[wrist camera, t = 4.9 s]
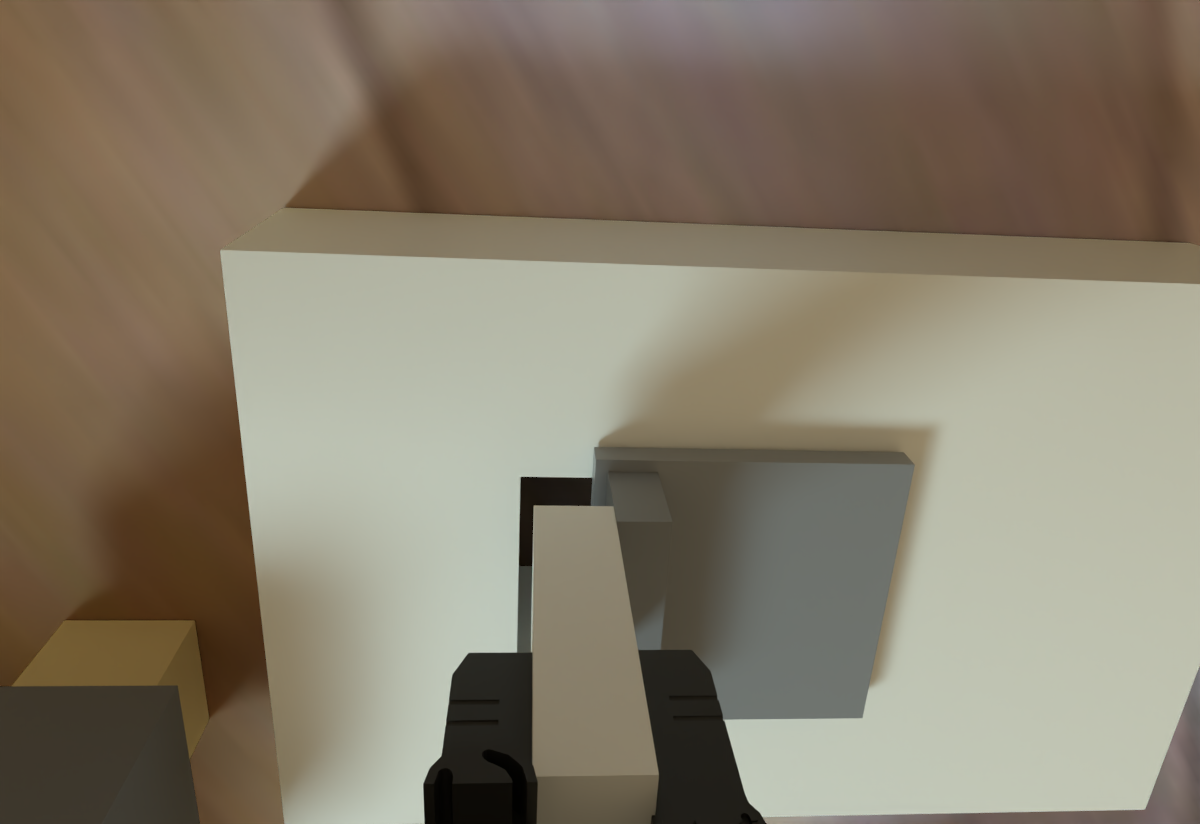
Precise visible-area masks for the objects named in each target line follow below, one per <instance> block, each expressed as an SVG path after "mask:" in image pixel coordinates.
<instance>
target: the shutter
mask: <svg viewBox="0 0 1200 824" xmlns="http://www.w3.org/2000/svg"><path fill="white" fill-rule="evenodd" d="M914 467H915V464H914V463H913V462H912V461H911V460H910V459H909V458H908V457H907V455H906V454H905V453H904V452H865V451H806V450H748V449H689V448H630V447H594V455H593V473H592V492H591V506H614V512H615V517H616V523H617V529H618V535H619V541H620V547H621V553H622V559H623V565H624V571H625V577H626V582H627V588H628V594H629V600H630V606H631V612H632V618H633V624H634V630H635V636H636V642H637V647H638V650H692V651H693V652H694V653H695V654H696V655H697V656H698V657H699V658H700V660H701V661H702V662H703V663H704V664H705V665H706V666H707V667H708V669H709V670H710V671H711V674H712V678H713V681H714V685H715V689H716V692H717V699H718V700H719V703H720V706H721V710H722V714H723V720H734V719H839V718H863V713H864V708H865V703H866V698H867V694H868V689H869V684H870V679H871V674H872V670H873V665H874V660H875V655H876V650H877V645H878V641H879V636H880V631H881V626H882V621H883V616H884V612H885V607H886V602H887V597H888V592H889V587H890V583H891V578H892V573H893V568H894V563H895V559H896V554H897V549H898V544H899V539H900V534H901V530H902V525H903V520H904V515H905V510H906V505H907V501H908V496H909V491H910V486H911V481H912V476H913V472H914Z"/></svg>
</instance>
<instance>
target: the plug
mask: <svg viewBox="0 0 1200 824" xmlns="http://www.w3.org/2000/svg"><path fill="white" fill-rule="evenodd" d="M208 721H209V713H208V706H207V700H206V693H205V686H204V679H203V672H202V665H201V659H200V652H199V645H198V638H197V631H196V625H195V620H65V621H64V622H63V623H62V624H61V625H60V627H59V628H58V629H57V630H56V632H55V633H54V634H53V635H52V637H51V638H50V639H49V640H48V642H47V643H46V644H45V645H44V647H43V648H42V649H41V650H40V651H39V653H38V654H37V655H36V656H35V658H34V659H33V660H32V661H31V663H30V664H29V665H28V666H27V668H26V669H25V670H24V671H23V673H22V674H21V675H20V676H19V678H18V679H17V680H16V681H15V682H14V684H13V685H12V686H0V824H200V821H199V815H198V808H197V802H196V796H195V790H194V783H193V777H192V771H191V765H190V758H191V756H192V754H193V752H194V750H195V748H196V746H197V744H198V742H199V739H200V737H201V735H202V733H203V731H204V729H205V727H206V725H207V723H208Z"/></svg>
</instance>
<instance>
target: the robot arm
mask: <svg viewBox="0 0 1200 824" xmlns="http://www.w3.org/2000/svg"><path fill="white" fill-rule="evenodd" d="M423 794H424V820H425V824H766V823H765V821H764V819H763V817H762V816H761V814H760V812H758V811H757V810H756V809H755V808H754V807H753V806H752V805H751V804H750V803H749V802H748V800H747V797H746V795H745V792H744V789H743V785H742V782H741V778H740V775H739V771H738V767H737V764H736V760H735V757H734V753H733V749H732V746H731V742H730V739H729V735H728V732H727V728H726V724H725V721H723V714H722V710H721V706H720V703H719V700H718V699H717V692H716V689H715V685H714V681H713V678H712V674H711V671H710V670H709V669H708V667H707V666H706V665H705V664H704V663H703V662H702V661H701V660H700V658H699V657H698V656H697V655H696V654H695V653H694V652H693V651H692V650H638V647H637V642H636V636H635V630H634V624H633V618H632V612H631V606H630V600H629V594H628V588H627V582H626V577H625V571H624V565H623V559H622V553H621V547H620V541H619V535H618V529H617V523H616V517H615V512H614V506H535V505H534V515H533V562H532V610H531V652H530V653H468V654H467V656H466V657H465V658H464V660H463V661H462V662H461V664H460V665H459V666H458V668H457V669H456V670H455V672H454V673H453V674H452V680H451V688H450V696H449V705H448V711H447V718H446V726H445V734H444V741H443V749H442V756H441V757H440V758H439V759H438V760H437V761H436V762H435V763H434V764H433V765H432V766H431V767H430V769H429V771H428V773H427V776H426V778H425V781H424V783H423Z"/></svg>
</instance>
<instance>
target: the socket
mask: <svg viewBox="0 0 1200 824" xmlns="http://www.w3.org/2000/svg"><path fill="white" fill-rule="evenodd" d="M220 255H221V263H222V272H223V281H224V290H225V299H226V308H227V317H228V326H229V335H230V344H231V353H232V361H233V370H234V379H235V388H236V397H237V406H238V415H239V424H240V433H241V442H242V451H243V459H244V468H245V477H246V486H247V495H248V504H249V513H250V522H251V531H252V540H253V549H254V558H255V566H256V575H257V584H258V593H259V602H260V611H261V620H262V629H263V638H264V647H265V656H266V664H267V673H268V682H269V691H270V700H271V709H272V718H273V727H274V736H275V745H276V754H277V762H278V771H279V780H280V789H281V798H282V807H283V816H284V824H425V820H424V794H423V783H424V781H425V778H426V776H427V773H428V771H429V769H430V767H431V766H432V765H433V764H434V763H435V762H436V761H437V760H438V759H439V758H440V757H441V756H442V749H443V741H444V734H445V726H446V718H447V711H448V705H449V696H450V688H451V680H452V674H453V673H454V672H455V670H456V669H457V668H458V666H459V665H460V664H461V662H462V661H463V660H464V658H465V657H466V656H467V654H468V653H530V652H531V610H532V566H519V543H520V492H521V477H575V478H592V473H593V455H594V447H630V448H689V449H748V450H806V451H865V452H904V453H905V454H906V455H907V457H908V458H909V459H910V460H911V461H912V462H913V463H914V464H915V467H914V472H913V476H912V481H911V486H910V491H909V496H908V501H907V505H906V510H905V515H904V520H903V525H902V530H901V534H900V539H899V544H898V549H897V554H896V559H895V563H894V568H893V573H892V578H891V583H890V587H889V592H888V597H887V602H886V607H885V612H884V616H883V621H882V626H881V631H880V636H879V641H878V645H877V650H876V655H875V660H874V665H873V670H872V674H871V679H870V684H869V689H868V694H867V698H866V703H865V708H864V713H863V718H839V719H734V720H723V721H725V724H726V728H727V732H728V735H729V739H730V742H731V746H732V749H733V753H734V757H735V760H736V764H737V767H738V771H739V775H740V778H741V782H742V785H743V789H744V792H745V795H746V797H747V800H748V802H749V803H750V804H751V805H752V806H753V807H754V808H755V809H756V810H757V811H758V812H760V814H761V816H762V817H791V816H844V815H896V814H948V813H1000V812H1052V811H1105V810H1145V808H1146V806H1147V803H1148V800H1149V798H1150V795H1151V793H1152V790H1153V787H1154V785H1155V782H1156V779H1157V777H1158V774H1159V771H1160V769H1161V766H1162V764H1163V761H1164V758H1165V756H1166V753H1167V750H1168V748H1169V745H1170V742H1171V740H1172V737H1173V735H1174V732H1175V729H1176V727H1177V724H1178V721H1179V719H1180V716H1181V713H1182V711H1183V708H1184V706H1185V703H1186V700H1187V698H1188V695H1189V692H1190V690H1191V687H1192V684H1193V682H1194V679H1195V676H1196V674H1197V671H1198V669H1199V666H1200V246H1198V245H1195V244H1192V243H1178V242H1152V241H1127V240H1101V239H1075V238H1050V237H1024V236H999V235H973V234H947V233H922V232H896V231H871V230H845V229H819V228H794V227H768V226H743V225H717V224H691V223H666V222H640V221H615V220H589V219H563V218H538V217H512V216H487V215H461V214H435V213H410V212H384V211H359V210H333V209H307V208H282V209H281V210H279V211H278V212H276V213H275V214H273V215H272V216H270V217H269V218H267V219H266V220H264V221H263V222H261V223H260V224H258V225H257V226H255V227H254V228H252V229H251V230H249V231H248V232H246V233H245V234H243V235H242V236H240V237H239V238H237V239H236V240H234V241H233V242H231V243H230V244H228V245H227V246H225V247H224V248H222V249H221V250H220Z"/></svg>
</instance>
